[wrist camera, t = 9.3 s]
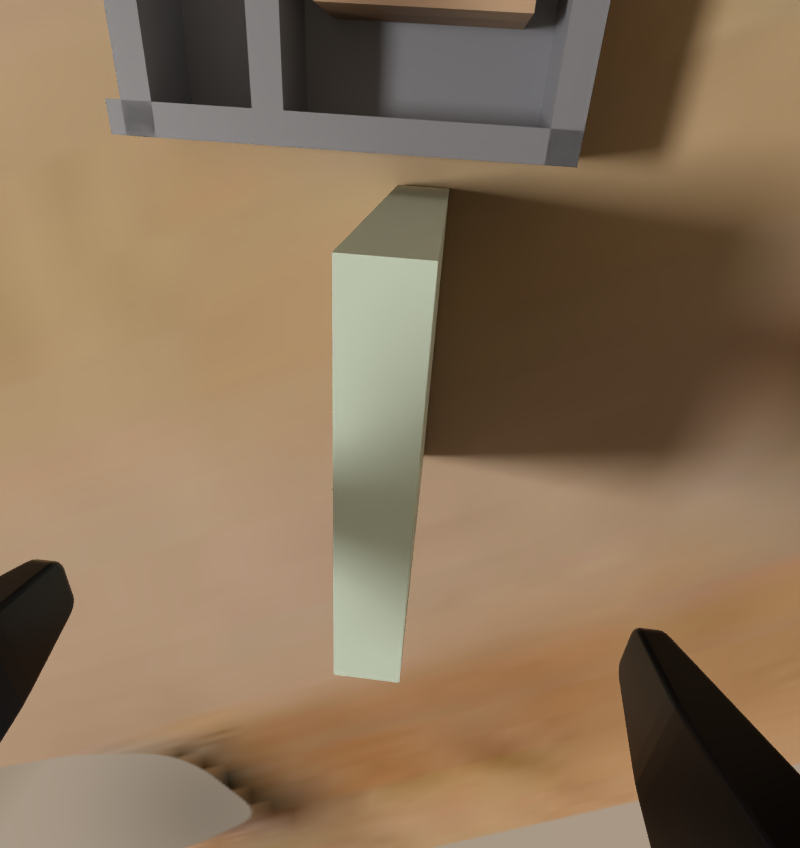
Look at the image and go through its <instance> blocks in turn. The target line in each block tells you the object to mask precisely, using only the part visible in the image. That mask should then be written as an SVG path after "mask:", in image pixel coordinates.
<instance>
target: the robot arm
mask: <svg viewBox="0 0 800 848" xmlns="http://www.w3.org/2000/svg"><path fill="white" fill-rule="evenodd" d="M73 604H74V597H73V593H72V591H71V588H70V585H69V582H68V579H67V576H66V573H65V570H64V568H63V566H62V565H61V564H60V563H59V562H56V561H48V560H38V559H36V560H31V561H28V562H26V563H24V564H22V565H20V566H18V567H16V568H14V569H12V570H11V571H9V572H7V573H5V574H3V575H1V576H0V742H1V740H2V739H3V737H4V736H5V734H6V733H7V731H8V729H9V728H10V726H11V725H12V723H13V722H14V720H15V718H16V717H17V715H18V713H19V712H20V710H21V708H22V707H23V705H24V703H25V701H26V699H27V698H28V696H29V694H30V692H31V690H32V688H33V686H34V684H35V683H36V681H37V679H38V677H39V675H40V673H41V671H42V669H43V667H44V665H45V663H46V661H47V659H48V657H49V655H50V653H51V651H52V649H53V647H54V645H55V643H56V641H57V640H58V638H59V636H60V634H61V632H62V630H63V628H64V626H65V624H66V622H67V620H68V618H69V616H70V614H71V612H72V609H73ZM619 681H620V688H621V694H622V701H623V708H624V714H625V721H626V728H627V734H628V741H629V748H630V755H631V761H632V768H633V774H634V779H635V785H636V789H637V794H638V798H639V802H640V806H641V810H642V814H643V818H644V822H645V826H646V830H647V834H648V838H649V842H650V846H651V848H800V774H799V773H798V772H797V771H796V770H795V769H794V768H793V767H792V766H791V765H790V764H789V763H788V762H787V761H786V759H785V758H784V757H783V756H782V755H781V754H780V753H779V752H778V751H777V750H776V749H775V748H774V747H773V746H772V745H771V744H770V743H769V741H768V740H767V739H766V738H765V737H764V736H763V735H762V734H761V733H760V732H759V731H758V730H757V729H756V728H755V727H754V726H753V725H752V723H751V722H750V721H749V720H748V719H747V718H746V717H745V716H744V715H743V714H742V713H741V712H740V711H739V710H738V709H737V708H736V707H735V705H734V704H733V703H732V702H731V701H730V700H729V699H728V698H727V697H726V696H725V695H724V694H723V693H722V692H721V691H720V690H719V689H718V687H717V686H716V685H715V684H714V683H713V682H712V681H711V680H710V679H709V678H708V677H707V676H706V675H705V674H704V673H703V672H702V671H701V669H700V668H699V667H698V666H697V665H696V664H695V663H694V662H693V661H692V660H691V659H690V658H689V657H688V656H687V655H686V654H685V653H684V651H683V650H682V649H681V648H680V647H679V646H678V645H677V644H676V643H675V642H674V641H673V640H672V639H671V638H670V637H669V636H668V635H667V634H666V633H664V632H663V631H660V630H654V629H645V628H636V629H635V630H634V631H633V632H632V633H631V636H630V638H629V641H628V643H627V645H626V648H625V650H624V653H623V655H622V658H621V660H620V664H619Z"/></svg>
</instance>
